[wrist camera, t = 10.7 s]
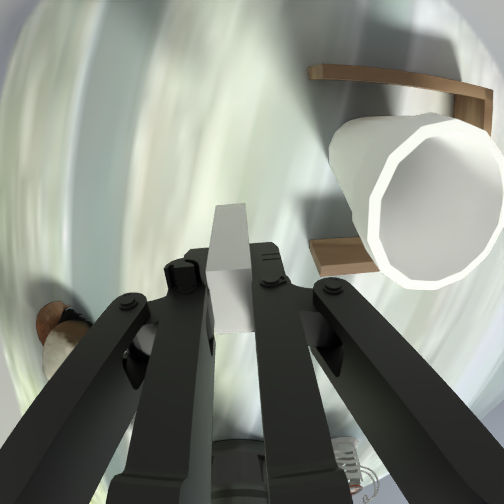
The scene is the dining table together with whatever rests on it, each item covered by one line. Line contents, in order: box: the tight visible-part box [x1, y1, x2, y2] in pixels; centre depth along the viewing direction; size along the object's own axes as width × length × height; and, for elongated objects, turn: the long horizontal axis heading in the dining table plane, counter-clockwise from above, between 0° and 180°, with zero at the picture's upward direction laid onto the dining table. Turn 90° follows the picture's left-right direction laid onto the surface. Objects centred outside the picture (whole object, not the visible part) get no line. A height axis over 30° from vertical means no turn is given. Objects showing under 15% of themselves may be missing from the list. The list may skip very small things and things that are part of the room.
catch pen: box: [308, 64, 493, 277], centre depth 24 cm, size 16×15×4 cm
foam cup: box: [328, 112, 504, 290], centre depth 20 cm, size 10×9×13 cm
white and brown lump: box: [36, 301, 93, 381], centre depth 33 cm, size 12×10×10 cm
